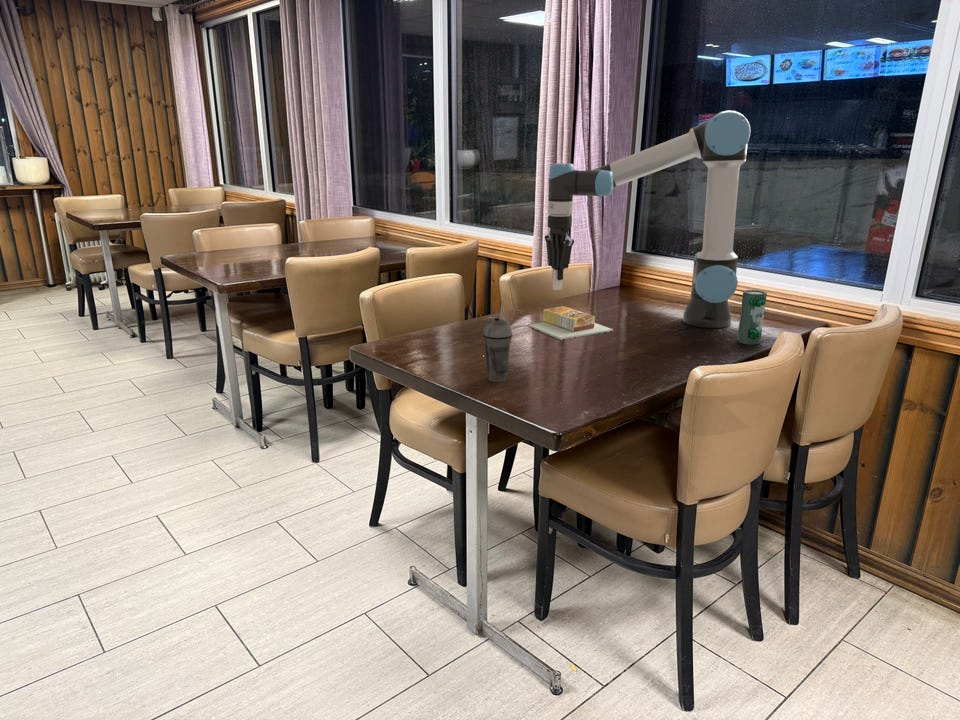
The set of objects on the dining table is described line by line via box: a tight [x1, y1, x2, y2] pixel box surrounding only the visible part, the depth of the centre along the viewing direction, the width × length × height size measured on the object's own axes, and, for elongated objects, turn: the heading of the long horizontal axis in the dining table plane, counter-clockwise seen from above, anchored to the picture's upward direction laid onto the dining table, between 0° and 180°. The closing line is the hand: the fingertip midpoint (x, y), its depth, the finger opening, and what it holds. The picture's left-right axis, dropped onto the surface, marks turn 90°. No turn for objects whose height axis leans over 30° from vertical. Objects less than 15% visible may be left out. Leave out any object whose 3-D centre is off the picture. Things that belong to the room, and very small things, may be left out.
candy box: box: [542, 306, 596, 332], centre depth 213 cm, size 9×4×15 cm
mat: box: [527, 321, 614, 341], centre depth 211 cm, size 18×20×1 cm
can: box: [736, 289, 768, 345], centre depth 195 cm, size 6×6×15 cm
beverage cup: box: [482, 300, 513, 383], centre depth 164 cm, size 7×7×20 cm
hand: (557, 289), depth 214 cm, fingers closed
